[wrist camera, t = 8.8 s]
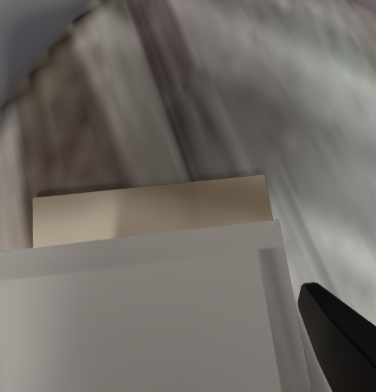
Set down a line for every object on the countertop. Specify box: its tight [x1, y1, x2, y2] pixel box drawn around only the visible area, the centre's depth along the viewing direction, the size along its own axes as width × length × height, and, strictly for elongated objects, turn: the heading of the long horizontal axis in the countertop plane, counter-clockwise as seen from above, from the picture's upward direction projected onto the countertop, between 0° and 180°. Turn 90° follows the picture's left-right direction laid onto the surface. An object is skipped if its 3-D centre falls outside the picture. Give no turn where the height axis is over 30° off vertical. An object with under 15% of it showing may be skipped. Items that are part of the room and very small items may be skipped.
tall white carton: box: [0, 219, 312, 392], centre depth 11 cm, size 5×5×12 cm
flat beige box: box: [33, 175, 273, 248], centre depth 14 cm, size 14×14×5 cm
